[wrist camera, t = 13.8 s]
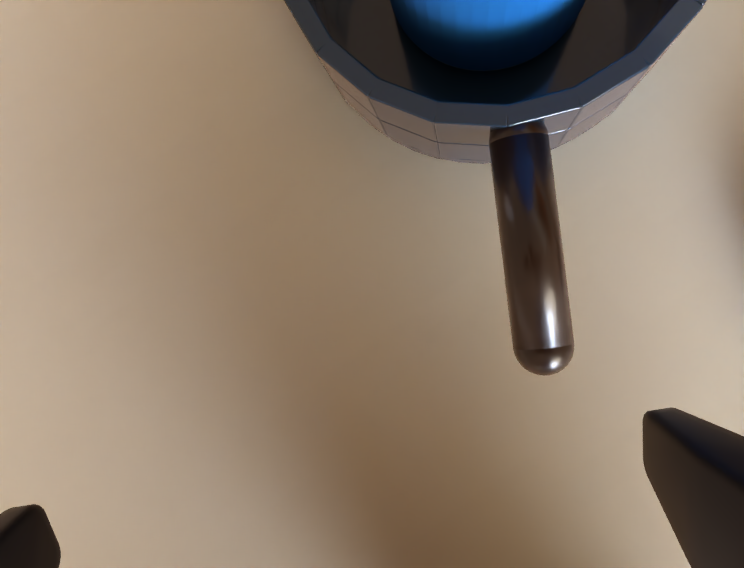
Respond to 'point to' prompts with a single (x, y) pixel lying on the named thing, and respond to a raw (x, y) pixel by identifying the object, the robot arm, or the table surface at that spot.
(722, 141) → the table surface
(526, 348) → the pot handle
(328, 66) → the pot
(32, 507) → the robot arm
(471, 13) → the beverage can
